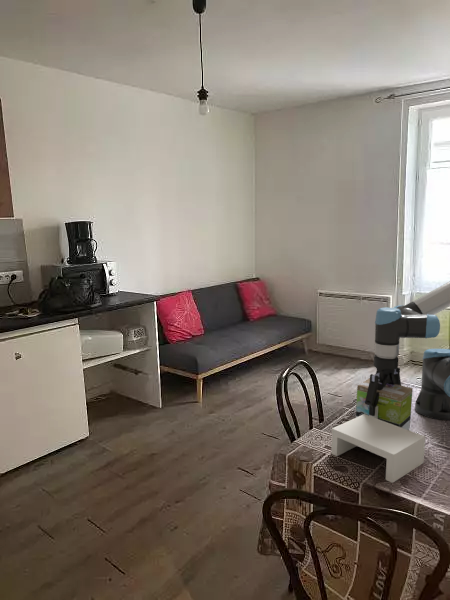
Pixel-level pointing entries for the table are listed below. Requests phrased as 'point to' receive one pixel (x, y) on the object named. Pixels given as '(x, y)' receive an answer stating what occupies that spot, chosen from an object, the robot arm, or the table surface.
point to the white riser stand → (381, 443)
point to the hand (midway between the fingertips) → (382, 419)
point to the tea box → (388, 403)
